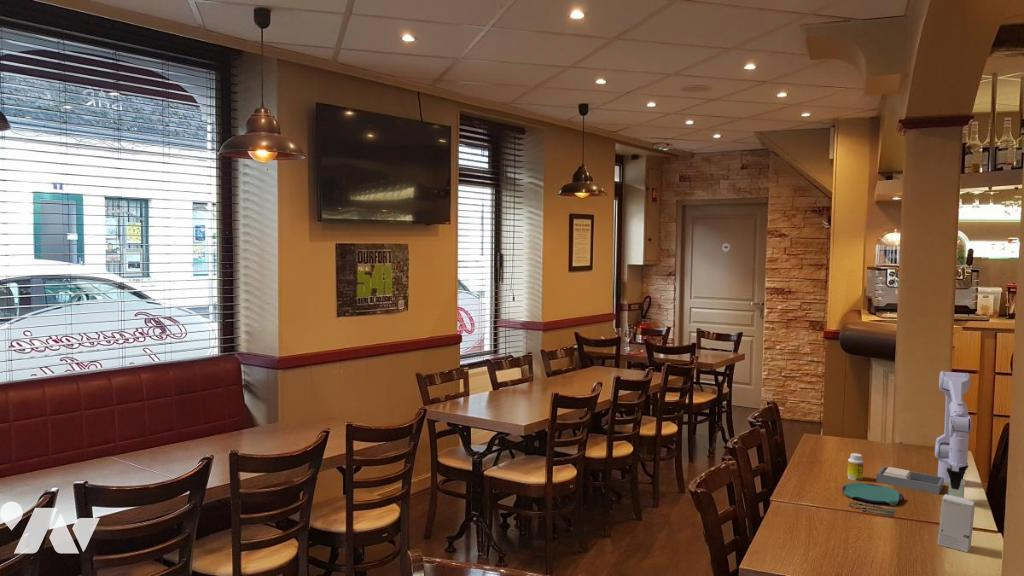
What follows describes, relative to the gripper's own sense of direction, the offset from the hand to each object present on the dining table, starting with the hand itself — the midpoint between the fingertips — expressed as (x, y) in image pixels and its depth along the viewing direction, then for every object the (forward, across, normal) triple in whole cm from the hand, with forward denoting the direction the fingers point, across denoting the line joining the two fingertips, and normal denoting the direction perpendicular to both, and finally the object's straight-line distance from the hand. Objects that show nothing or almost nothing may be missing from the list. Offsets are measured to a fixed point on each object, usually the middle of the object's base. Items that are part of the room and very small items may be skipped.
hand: (956, 486), depth 258 cm
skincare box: (+6, +48, +5) cm, 49 cm away
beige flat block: (+5, -8, -20) cm, 23 cm away
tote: (+5, -8, -16) cm, 19 cm away
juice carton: (+6, 0, 0) cm, 6 cm away
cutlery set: (+6, +20, -24) cm, 32 cm away
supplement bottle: (+6, -1, -34) cm, 34 cm away
